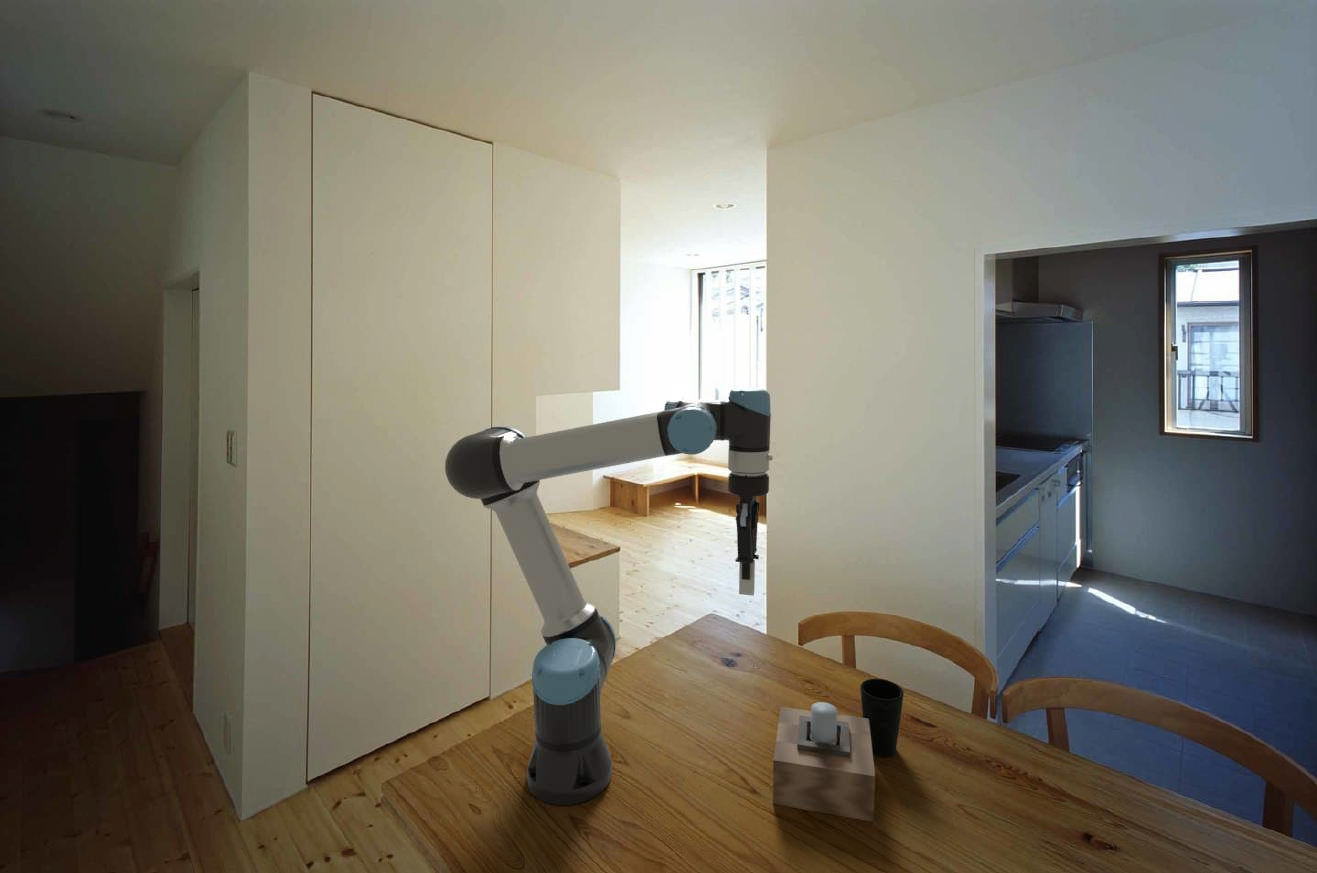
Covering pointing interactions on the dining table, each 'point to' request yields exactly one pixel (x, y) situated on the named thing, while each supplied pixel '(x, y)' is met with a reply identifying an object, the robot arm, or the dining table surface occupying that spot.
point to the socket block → (824, 767)
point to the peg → (823, 723)
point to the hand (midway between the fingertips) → (746, 593)
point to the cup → (882, 714)
